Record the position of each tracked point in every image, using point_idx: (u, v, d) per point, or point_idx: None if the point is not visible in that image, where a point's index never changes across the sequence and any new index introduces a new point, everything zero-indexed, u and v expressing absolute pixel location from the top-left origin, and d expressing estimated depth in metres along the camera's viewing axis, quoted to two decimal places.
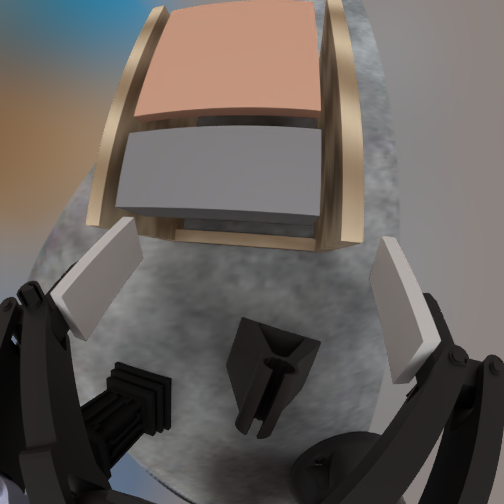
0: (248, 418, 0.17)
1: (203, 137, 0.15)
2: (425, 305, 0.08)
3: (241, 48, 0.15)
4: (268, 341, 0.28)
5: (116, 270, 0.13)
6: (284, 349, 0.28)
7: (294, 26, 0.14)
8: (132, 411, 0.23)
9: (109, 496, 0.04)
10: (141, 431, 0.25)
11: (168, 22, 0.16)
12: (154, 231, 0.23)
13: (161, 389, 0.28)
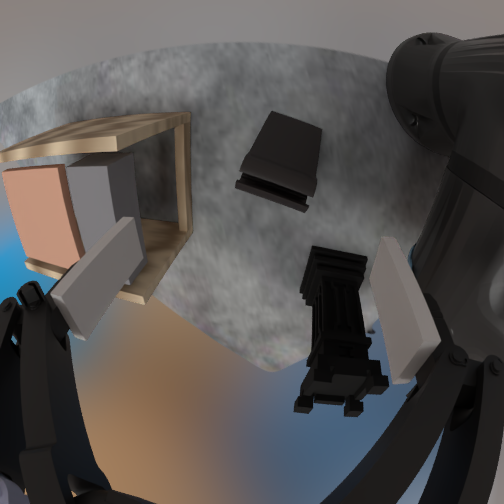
0: (288, 202, 0.21)
1: (85, 233, 0.22)
2: (425, 305, 0.08)
3: (38, 214, 0.22)
4: None
5: (116, 270, 0.13)
6: None
7: (19, 183, 0.21)
8: (323, 292, 0.31)
9: (109, 496, 0.04)
10: (354, 288, 0.33)
11: (33, 257, 0.27)
12: (169, 251, 0.32)
13: (317, 258, 0.35)
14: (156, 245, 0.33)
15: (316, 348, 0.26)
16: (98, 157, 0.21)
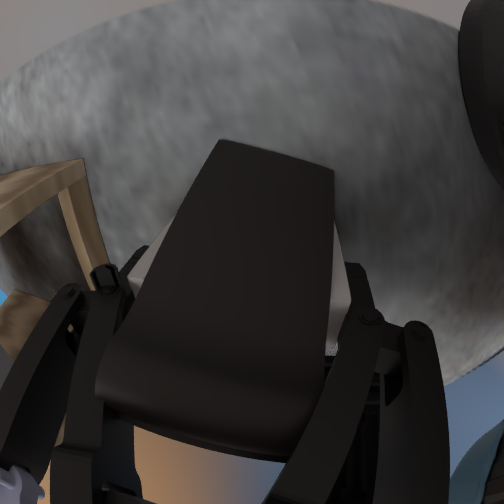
0: None
1: None
2: (343, 270, 0.10)
3: None
4: None
5: None
6: None
7: None
8: None
9: (109, 496, 0.04)
10: (377, 417, 0.18)
11: None
12: None
13: None
14: None
15: None
16: None
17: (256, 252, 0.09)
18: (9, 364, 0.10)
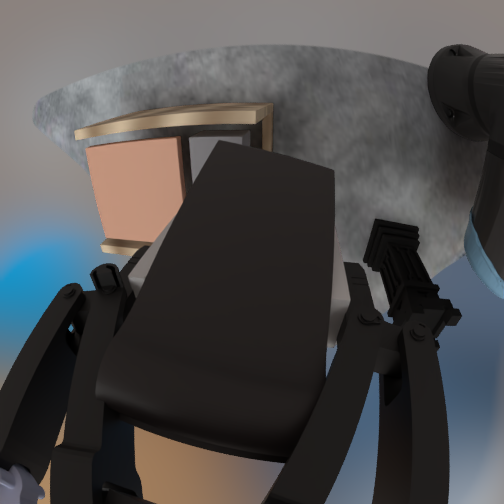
0: None
1: None
2: (342, 269, 0.10)
3: (138, 187, 0.27)
4: None
5: None
6: None
7: (113, 157, 0.25)
8: (393, 254, 0.35)
9: (109, 496, 0.04)
10: (413, 251, 0.36)
11: (116, 237, 0.32)
12: None
13: (381, 228, 0.38)
14: None
15: (399, 296, 0.30)
16: (216, 132, 0.25)
17: (256, 252, 0.09)
18: None
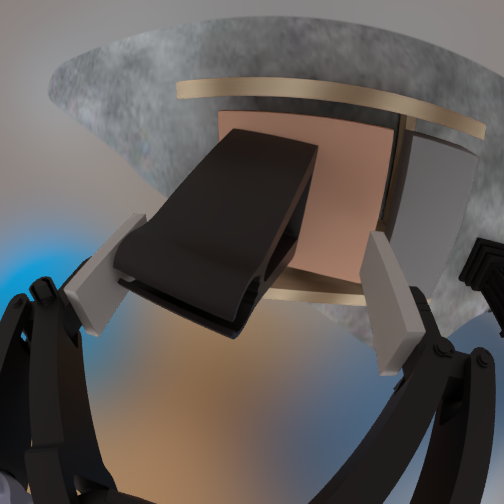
0: (197, 323, 0.11)
1: (403, 231, 0.17)
2: (411, 297, 0.09)
3: None
4: None
5: None
6: None
7: (272, 134, 0.17)
8: (501, 275, 0.26)
9: (109, 496, 0.04)
10: None
11: None
12: None
13: (485, 247, 0.30)
14: None
15: None
16: (431, 137, 0.15)
17: (236, 192, 0.14)
18: None
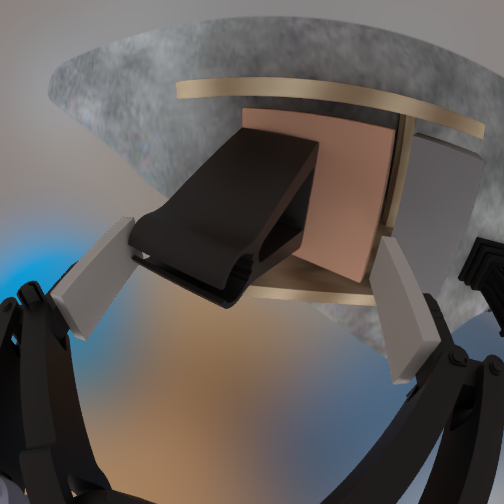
0: (195, 293, 0.13)
1: (402, 234, 0.17)
2: (425, 305, 0.08)
3: (313, 183, 0.19)
4: None
5: (116, 270, 0.13)
6: None
7: (284, 130, 0.19)
8: (500, 274, 0.26)
9: (109, 496, 0.04)
10: None
11: None
12: None
13: (485, 247, 0.30)
14: None
15: None
16: (440, 141, 0.14)
17: (238, 183, 0.15)
18: None
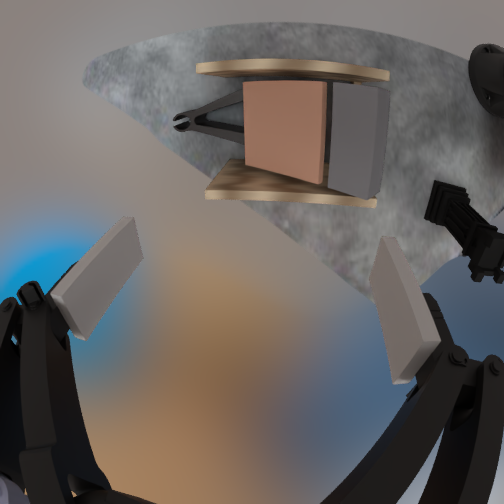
0: None
1: (337, 143, 0.26)
2: (425, 305, 0.08)
3: (283, 121, 0.30)
4: None
5: (116, 270, 0.13)
6: None
7: (266, 92, 0.29)
8: (456, 205, 0.36)
9: (109, 496, 0.04)
10: (468, 205, 0.37)
11: (255, 166, 0.36)
12: None
13: (441, 187, 0.39)
14: None
15: (472, 235, 0.31)
16: None
17: None
18: (385, 136, 0.25)
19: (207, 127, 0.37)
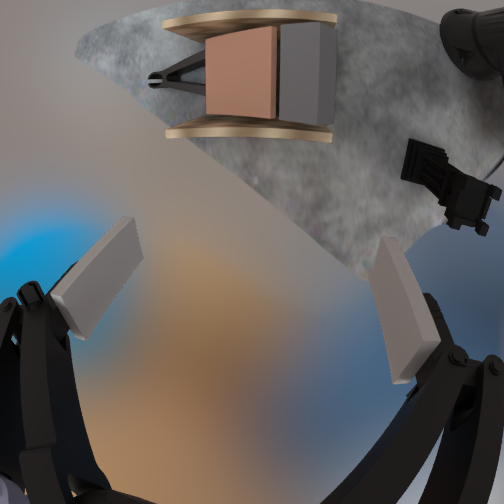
0: None
1: (285, 76, 0.25)
2: (425, 305, 0.08)
3: (238, 66, 0.29)
4: None
5: (116, 270, 0.13)
6: None
7: (224, 44, 0.28)
8: (431, 159, 0.35)
9: (109, 496, 0.04)
10: (445, 162, 0.36)
11: (214, 113, 0.35)
12: None
13: (416, 143, 0.39)
14: None
15: (447, 182, 0.30)
16: None
17: None
18: (334, 70, 0.24)
19: (177, 83, 0.36)
